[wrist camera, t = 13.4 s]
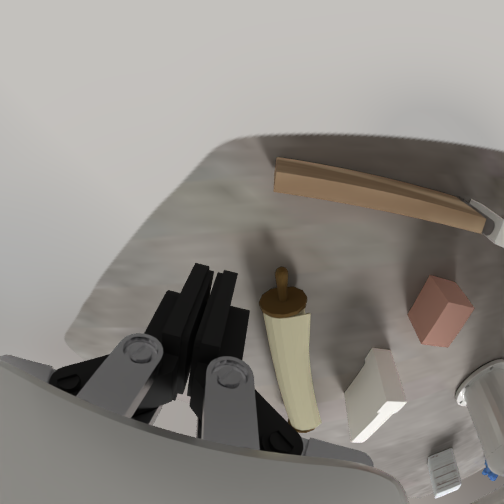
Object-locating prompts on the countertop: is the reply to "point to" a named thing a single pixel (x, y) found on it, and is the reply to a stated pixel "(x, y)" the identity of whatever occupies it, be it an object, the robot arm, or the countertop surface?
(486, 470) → the grapes
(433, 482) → the supplement box
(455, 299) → the block
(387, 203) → the door
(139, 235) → the countertop surface
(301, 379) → the rolling pin
